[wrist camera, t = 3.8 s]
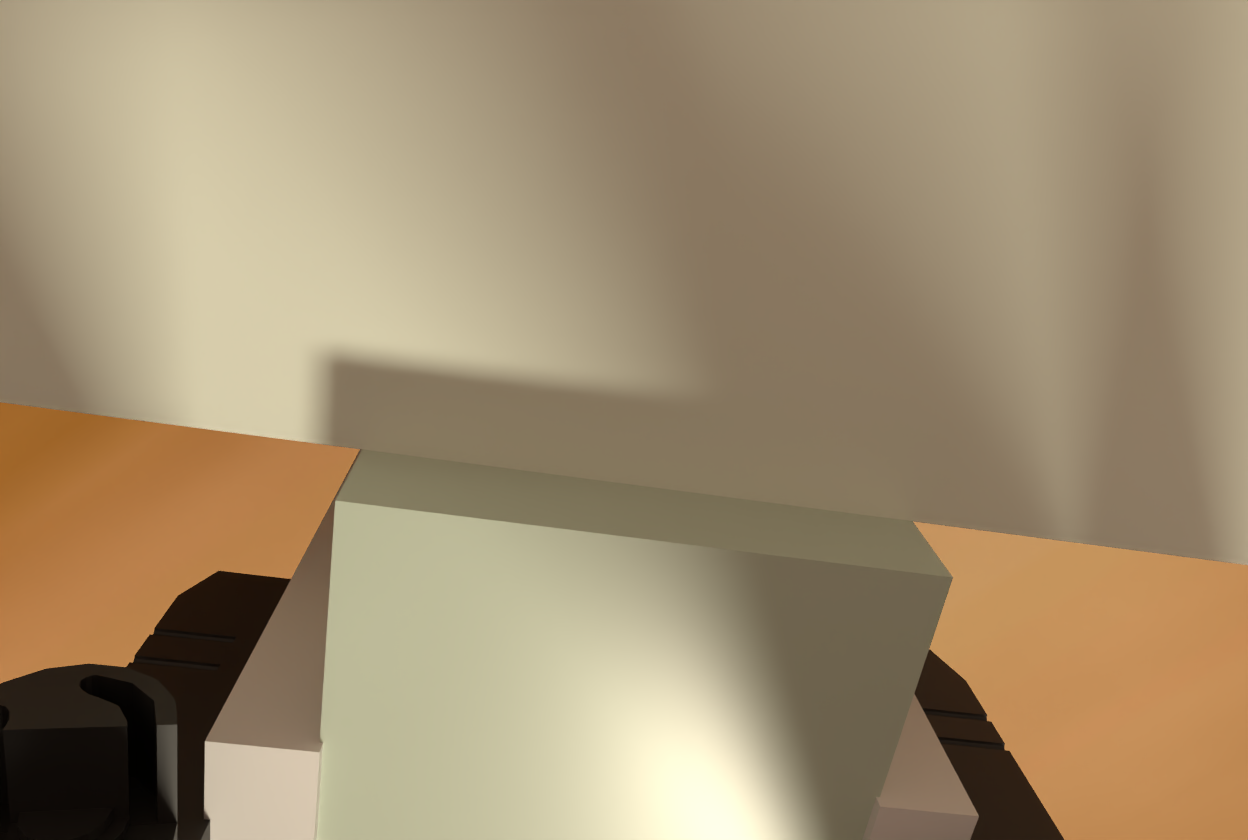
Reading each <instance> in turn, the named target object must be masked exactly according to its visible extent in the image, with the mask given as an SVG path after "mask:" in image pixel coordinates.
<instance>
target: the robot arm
mask: <svg viewBox="0 0 1248 840" xmlns="http://www.w3.org/2000/svg"><path fill="white" fill-rule="evenodd" d="M361 451H362V449H360V451H359V453H358V455H357V456H356V458H355V460H354V462H353V464H352V466H351V468H350V470H349V471H348V473H347V475H346V477H345V479H344V481H343V483H342V485H341V486H340V488H339V490H338V492H337V494H336V496H335V498H334V500H333V501H332V503H331V505H330V507H329V509H328V511H327V513H326V515H325V517H324V518H323V520H322V522H321V524H320V526H319V528H318V530H317V532H316V533H315V535H314V537H313V539H312V541H311V543H310V545H309V547H308V548H307V550H306V552H305V554H304V556H303V558H302V560H301V562H300V563H299V565H298V567H297V569H296V571H295V573H294V575H293V577H292V578H291V579H284V578H276V577H267V576H258V575H250V574H241V573H232V572H224V571H218V572H216V573H214V574H213V575H211V576H210V577H208V578H206V579H205V580H203V581H201V582H200V583H198V584H196V585H195V586H193V587H192V588H190V589H188V590H187V591H185V592H183V593H182V594H180V595H178V596H177V598H176V599H175V601H174V602H173V603H172V605H171V606H170V608H169V609H168V610H167V612H166V613H165V614H164V616H163V617H162V619H161V620H160V621H159V623H158V624H157V626H156V627H155V630H154V634H153V635H149V637H148V638H147V639H146V641H145V642H144V643H143V645H142V646H141V648H140V649H139V650H138V652H137V653H136V655H135V659H134V662H133V663H129V664H128V666H127V667H117V666H107V665H97V664H83V665H74V666H66V667H57V668H49V669H44V670H41V671H38V672H34V673H31V674H28V675H25V676H22V677H19V678H16V679H13V680H10V681H6V682H3V683H1V684H0V840H317V828H318V813H319V798H320V782H321V767H322V752H323V743H320V728H321V713H322V697H323V682H324V666H325V651H326V635H327V620H328V604H329V589H330V573H331V558H332V542H333V527H334V511H335V500H336V498H337V496H338V494H339V492H340V491H341V489H342V487H343V485H344V483H345V481H346V479H347V477H348V475H349V473H350V472H351V470H352V468H353V466H354V464H355V462H356V460H357V458H358V456H359V455H360V453H361ZM986 717H987V714H986V713H985V711H984V709H983V708H982V706H981V705H980V703H979V701H978V700H977V698H976V696H975V695H974V693H973V692H972V690H971V688H970V687H969V685H968V684H967V682H966V681H965V680H964V679H963V678H962V677H961V676H960V675H958V674H957V673H956V672H955V671H954V670H953V669H952V668H950V667H949V666H948V665H947V664H946V663H945V662H943V661H942V660H941V659H940V658H939V657H938V656H937V655H935V654H934V653H933V652H932V651H931V650H929V651H928V654H927V657H926V660H925V663H924V666H923V669H922V672H921V675H920V678H919V681H918V684H917V687H916V690H915V693H914V696H913V699H912V702H911V705H910V708H909V711H908V714H907V717H906V720H905V723H904V726H903V729H902V732H901V735H900V738H899V741H898V744H897V747H896V750H895V753H894V756H893V759H892V762H891V765H890V768H889V771H888V774H887V777H886V780H885V783H884V786H883V789H882V792H881V795H880V797H876V800H875V803H874V806H873V809H872V812H871V815H870V818H869V821H868V824H867V827H866V830H865V833H864V836H863V839H862V840H1064V838H1063V837H1062V835H1061V834H1060V832H1059V830H1058V829H1057V827H1056V826H1055V824H1054V822H1053V821H1052V819H1051V817H1050V816H1049V814H1048V813H1047V811H1046V809H1045V808H1044V806H1043V805H1042V803H1041V801H1040V800H1039V798H1038V797H1037V795H1036V793H1035V792H1034V790H1033V788H1032V787H1031V785H1030V784H1029V782H1028V780H1027V779H1026V777H1025V776H1024V774H1023V772H1022V771H1021V769H1020V767H1019V766H1018V764H1017V763H1016V761H1015V759H1014V758H1013V756H1012V755H1011V753H1010V751H1005V749H1004V744H1005V743H1004V742H1003V740H1002V738H1001V737H1000V735H999V734H998V732H997V730H996V729H995V727H994V726H993V724H992V722H989V721H987V718H986Z"/></svg>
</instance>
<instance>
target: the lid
mask: <svg viewBox="0 0 1248 840" xmlns="http://www.w3.org/2000/svg"><path fill="white" fill-rule="evenodd" d="M0 402H3V403H10V404H18V405H26V406H33V407H41V408H49V409H56V410H64V411H72V412H79V413H87V414H95V415H102V416H110V417H118V418H125V419H133V420H141V421H148V422H156V423H164V424H171V425H179V426H187V427H194V428H202V429H210V430H217V431H225V432H233V433H240V434H248V435H256V436H263V437H271V438H279V439H286V440H294V441H302V442H309V443H317V444H324V445H332V446H340V447H347V448H355V449H362V451H361V453H360V455H359V456H358V458H357V460H356V462H355V464H354V466H353V468H352V470H351V472H350V473H349V475H348V477H347V479H346V481H345V483H344V485H343V487H342V489H341V491H340V492H339V494H338V496H337V498H336V500H335V511H334V527H333V542H332V558H331V573H330V589H329V604H328V620H327V635H326V651H325V666H324V682H323V697H322V713H321V728H320V743H323V752H322V767H321V782H320V798H319V813H318V828H317V840H862V839H863V836H864V833H865V830H866V827H867V824H868V821H869V818H870V815H871V812H872V809H873V806H874V803H875V800H876V797H880V795H881V792H882V789H883V786H884V783H885V780H886V777H887V774H888V771H889V768H890V765H891V762H892V759H893V756H894V753H895V750H896V747H897V744H898V741H899V738H900V735H901V732H902V729H903V726H904V723H905V720H906V717H907V714H908V711H909V708H910V705H911V702H912V699H913V696H914V693H915V690H916V687H917V684H918V681H919V678H920V675H921V672H922V669H923V666H924V663H925V660H926V657H927V654H928V651H929V648H930V645H931V642H932V639H933V636H934V633H935V630H936V627H937V624H938V621H939V618H940V615H941V612H942V609H943V606H944V603H945V600H946V597H947V594H948V591H949V588H950V585H951V582H952V579H953V577H952V576H951V574H950V573H949V571H948V570H947V569H946V567H945V566H944V564H943V563H942V562H941V560H940V559H939V558H938V556H937V555H936V553H935V552H934V551H933V549H932V548H931V546H930V545H929V544H928V542H927V541H926V539H925V538H924V537H923V535H922V534H921V532H920V531H919V530H918V528H917V527H916V525H915V524H914V523H913V521H914V522H922V523H930V524H937V525H945V526H953V527H960V528H968V529H976V530H983V531H991V532H999V533H1006V534H1014V535H1022V536H1029V537H1037V538H1045V539H1052V540H1060V541H1067V542H1075V543H1083V544H1090V545H1098V546H1106V547H1113V548H1121V549H1129V550H1136V551H1144V552H1152V553H1159V554H1167V555H1175V556H1182V557H1190V558H1198V559H1205V560H1213V561H1221V562H1228V563H1236V564H1244V565H1248V0H0Z"/></svg>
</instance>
